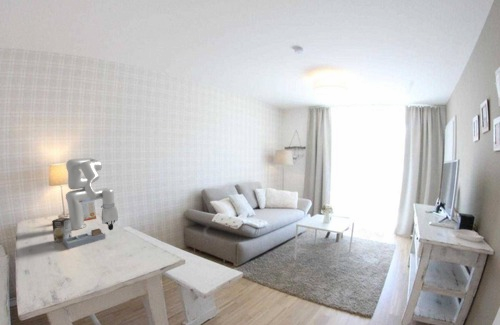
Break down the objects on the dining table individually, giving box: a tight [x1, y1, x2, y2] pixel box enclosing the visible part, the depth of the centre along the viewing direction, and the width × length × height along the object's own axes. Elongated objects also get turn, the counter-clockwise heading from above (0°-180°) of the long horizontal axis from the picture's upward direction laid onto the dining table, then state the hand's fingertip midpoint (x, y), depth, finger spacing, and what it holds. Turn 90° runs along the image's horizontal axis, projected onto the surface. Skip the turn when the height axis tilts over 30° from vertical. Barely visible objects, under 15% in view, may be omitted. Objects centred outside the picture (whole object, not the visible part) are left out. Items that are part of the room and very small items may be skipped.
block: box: [90, 228, 102, 236], centre depth 174 cm, size 5×5×4 cm
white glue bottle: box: [79, 198, 97, 221], centre depth 222 cm, size 14×6×21 cm, turn 125°
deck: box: [62, 231, 106, 250], centre depth 171 cm, size 16×22×4 cm
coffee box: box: [51, 217, 73, 243], centre depth 172 cm, size 9×6×16 cm
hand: (110, 229), depth 180 cm, fingers closed
